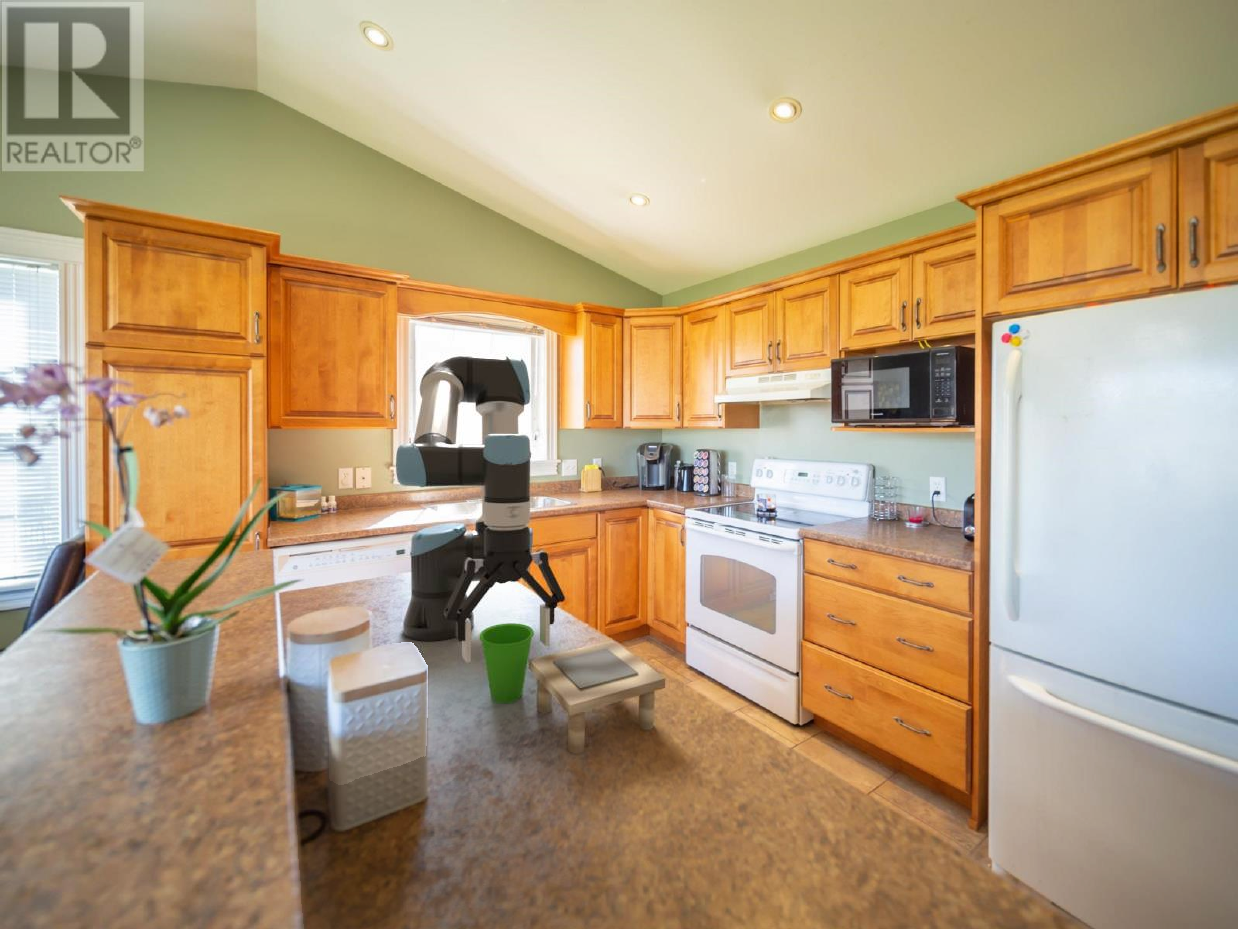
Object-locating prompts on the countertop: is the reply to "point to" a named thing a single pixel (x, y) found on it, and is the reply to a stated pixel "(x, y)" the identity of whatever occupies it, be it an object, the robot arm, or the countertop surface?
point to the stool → (594, 684)
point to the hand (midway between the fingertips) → (507, 650)
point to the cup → (506, 659)
